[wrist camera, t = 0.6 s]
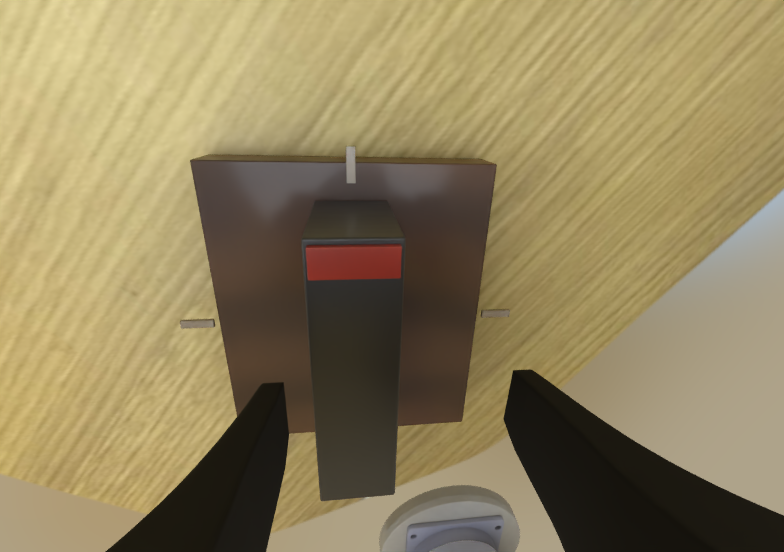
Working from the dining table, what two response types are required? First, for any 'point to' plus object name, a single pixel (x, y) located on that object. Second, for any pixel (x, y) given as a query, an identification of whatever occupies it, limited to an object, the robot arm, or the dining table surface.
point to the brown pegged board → (286, 281)
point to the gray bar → (354, 343)
